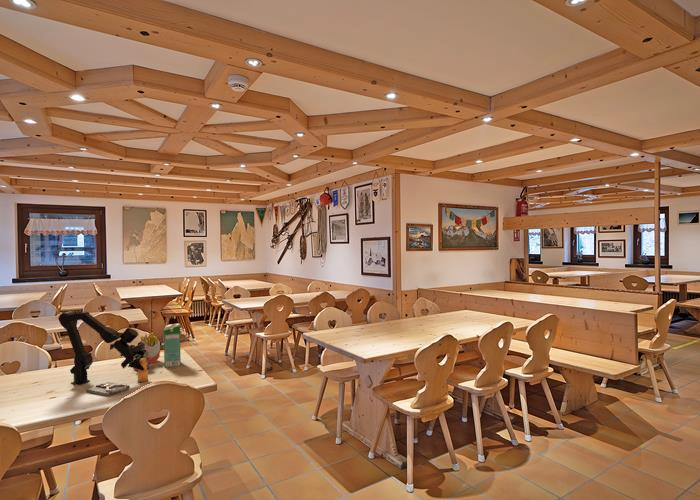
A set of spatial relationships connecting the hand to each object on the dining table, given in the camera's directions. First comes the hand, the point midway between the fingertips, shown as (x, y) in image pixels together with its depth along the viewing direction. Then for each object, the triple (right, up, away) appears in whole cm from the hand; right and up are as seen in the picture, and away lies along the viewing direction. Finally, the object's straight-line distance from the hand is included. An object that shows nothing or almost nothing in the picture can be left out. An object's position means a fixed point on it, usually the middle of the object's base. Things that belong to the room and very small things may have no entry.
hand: (145, 368), depth 226 cm
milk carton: (+2, -6, +30) cm, 31 cm away
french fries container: (-14, -6, +35) cm, 39 cm away
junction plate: (-11, -7, -14) cm, 20 cm away
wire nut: (-1, -7, 0) cm, 7 cm away
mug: (-12, -7, +22) cm, 26 cm away
